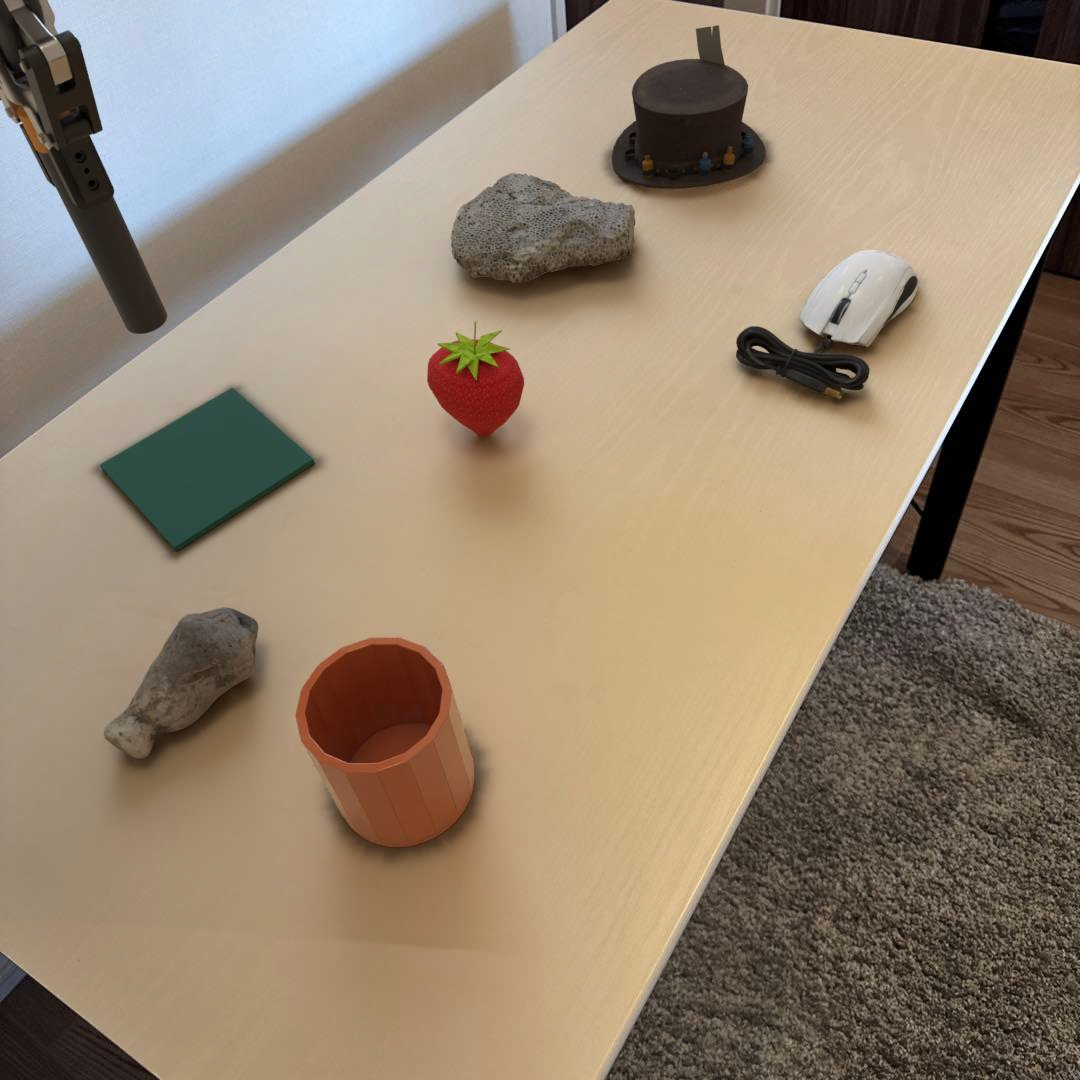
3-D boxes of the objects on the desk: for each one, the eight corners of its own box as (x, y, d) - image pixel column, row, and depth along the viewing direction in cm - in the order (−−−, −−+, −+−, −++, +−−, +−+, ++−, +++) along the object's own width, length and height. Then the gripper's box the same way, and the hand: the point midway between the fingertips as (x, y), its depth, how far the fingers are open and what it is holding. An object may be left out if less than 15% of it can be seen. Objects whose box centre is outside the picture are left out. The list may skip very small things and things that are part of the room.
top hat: (785, 184, 96) (796, 74, 88) (628, 209, 95) (625, 101, 87) (741, 108, 105) (748, 3, 97) (599, 131, 105) (594, 27, 97)
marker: (137, 340, 62) (29, 123, 52) (117, 322, 64) (8, 106, 53) (176, 319, 63) (77, 102, 53) (155, 301, 65) (56, 86, 54)
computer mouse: (947, 284, 84) (957, 242, 81) (849, 415, 75) (857, 374, 72) (834, 250, 88) (840, 209, 85) (729, 370, 80) (732, 329, 77)
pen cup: (392, 876, 56) (355, 803, 49) (312, 781, 60) (267, 701, 53) (502, 782, 59) (482, 700, 52) (418, 697, 63) (389, 611, 56)
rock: (630, 301, 86) (629, 250, 83) (444, 303, 88) (435, 254, 85) (638, 203, 96) (637, 153, 92) (469, 207, 98) (462, 159, 94)
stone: (136, 786, 62) (203, 745, 57) (67, 726, 60) (130, 679, 56) (226, 679, 69) (291, 635, 65) (167, 623, 68) (229, 574, 63)
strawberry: (465, 394, 81) (445, 289, 73) (546, 423, 78) (534, 317, 70) (422, 441, 78) (396, 337, 70) (505, 473, 75) (488, 368, 67)
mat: (176, 552, 72) (173, 547, 72) (101, 469, 79) (99, 464, 78) (315, 463, 77) (313, 458, 77) (234, 391, 83) (232, 387, 83)
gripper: (-227, -175, 46) (-28, 176, 59) (-127, -114, 38) (75, 272, 52) (-65, -221, 48) (90, 124, 62) (57, -172, 41) (203, 208, 54)
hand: (83, 190), depth 57 cm, fingers closed on marker, 2 cm apart
